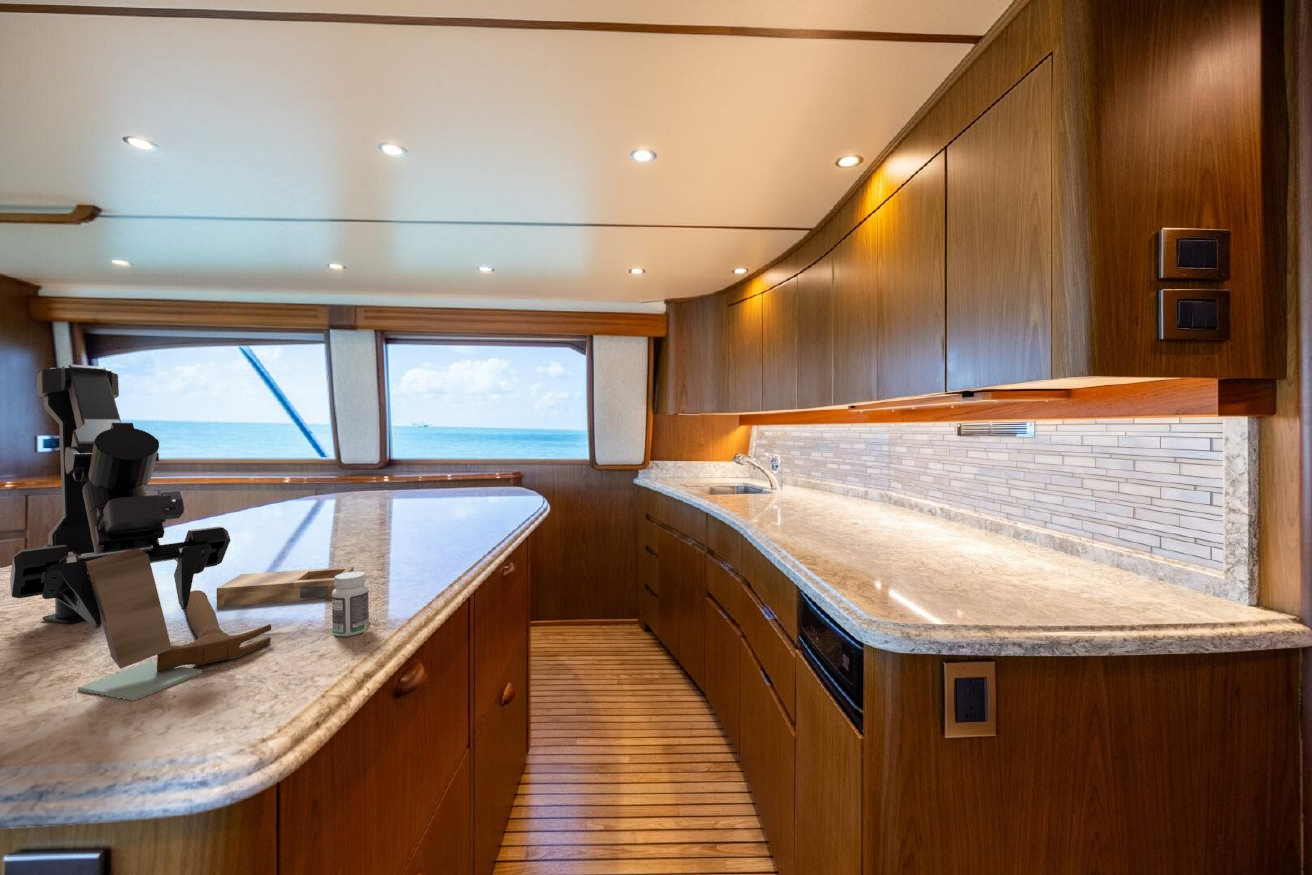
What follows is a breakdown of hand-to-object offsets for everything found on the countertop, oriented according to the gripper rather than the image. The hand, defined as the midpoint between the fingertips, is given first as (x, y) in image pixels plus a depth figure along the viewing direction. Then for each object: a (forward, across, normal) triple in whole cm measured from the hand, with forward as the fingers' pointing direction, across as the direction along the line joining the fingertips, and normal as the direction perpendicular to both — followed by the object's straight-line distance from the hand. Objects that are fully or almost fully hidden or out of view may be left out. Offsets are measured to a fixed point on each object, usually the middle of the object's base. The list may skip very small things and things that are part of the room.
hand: (143, 616), depth 63 cm
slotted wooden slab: (-10, +23, +21) cm, 33 cm away
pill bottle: (+7, +22, +4) cm, 24 cm away
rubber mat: (+5, 0, +7) cm, 8 cm away
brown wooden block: (+2, 0, +4) cm, 5 cm away
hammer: (-4, +10, +16) cm, 19 cm away
